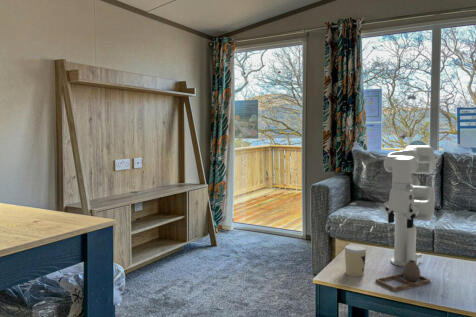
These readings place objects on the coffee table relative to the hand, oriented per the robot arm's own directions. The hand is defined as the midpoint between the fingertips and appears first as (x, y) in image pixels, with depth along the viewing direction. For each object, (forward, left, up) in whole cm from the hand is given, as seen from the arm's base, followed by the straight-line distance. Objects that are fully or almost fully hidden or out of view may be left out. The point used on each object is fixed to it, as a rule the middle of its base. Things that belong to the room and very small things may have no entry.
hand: (400, 225), depth 168 cm
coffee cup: (+14, -12, -24) cm, 30 cm away
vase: (-2, +5, -24) cm, 24 cm away
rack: (+3, +4, -23) cm, 24 cm away
